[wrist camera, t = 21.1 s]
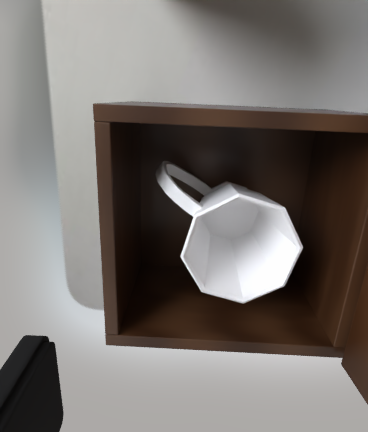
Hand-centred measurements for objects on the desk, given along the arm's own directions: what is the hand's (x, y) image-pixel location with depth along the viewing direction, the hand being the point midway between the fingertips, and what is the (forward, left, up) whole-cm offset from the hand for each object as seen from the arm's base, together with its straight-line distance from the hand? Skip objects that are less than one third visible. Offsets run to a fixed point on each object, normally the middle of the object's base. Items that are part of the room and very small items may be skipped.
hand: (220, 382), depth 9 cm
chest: (+1, +1, -19) cm, 19 cm away
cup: (0, +1, -18) cm, 18 cm away
